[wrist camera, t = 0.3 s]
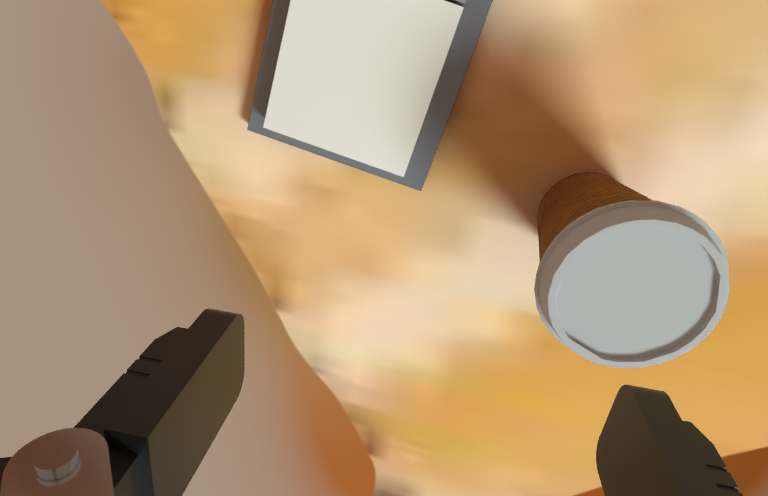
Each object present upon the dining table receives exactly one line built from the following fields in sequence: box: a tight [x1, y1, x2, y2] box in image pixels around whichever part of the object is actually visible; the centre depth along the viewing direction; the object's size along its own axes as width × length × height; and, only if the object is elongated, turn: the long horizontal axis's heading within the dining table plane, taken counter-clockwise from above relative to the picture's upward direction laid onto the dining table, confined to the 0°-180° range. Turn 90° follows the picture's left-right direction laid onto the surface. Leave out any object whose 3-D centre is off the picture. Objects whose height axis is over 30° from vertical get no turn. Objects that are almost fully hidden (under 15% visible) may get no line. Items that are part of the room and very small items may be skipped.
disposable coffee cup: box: [534, 173, 730, 368], centre depth 31 cm, size 10×10×12 cm
